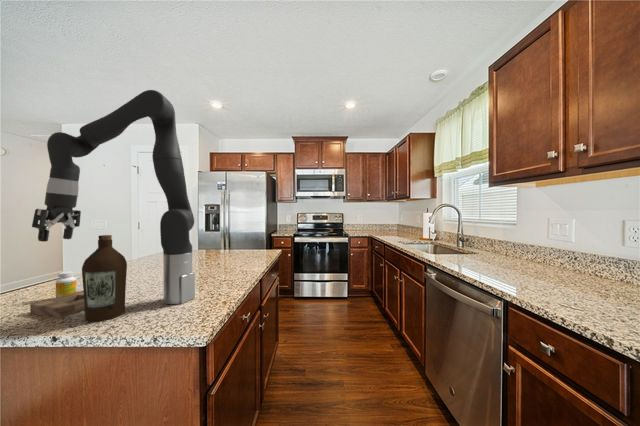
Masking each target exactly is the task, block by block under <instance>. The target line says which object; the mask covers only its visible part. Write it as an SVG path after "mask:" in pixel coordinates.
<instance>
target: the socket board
mask: <svg viewBox="0 0 640 426" xmlns="http://www.w3.org/2000/svg"><path fill="white" fill-rule="evenodd" d="M29 308H30V309H29V310H30V315H35V316H36V315H37V316H43V317H49V318H56V319H63V318H66V317H69V316H73V315H75V314H78V313H79V314H80V313H81V312H85V307H84V291H83V290H80V291H76V293H72V294H68V295H64V296H61V297H57V298H56V297H53V298H50V299H46V300H42V301H38V302H34V303H31V304H30V306H29Z"/></svg>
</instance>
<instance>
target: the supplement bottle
mask: <svg viewBox="0 0 640 426" xmlns="http://www.w3.org/2000/svg"><path fill="white" fill-rule="evenodd" d="M57 274H58V275H57V276H58V277H57V279H56V280H55V298H57V297H61V296H64V295H68V294H72V293H76V292H77V277H75V276H74V271H71V270H69V271H63V272H62V271H61V272H58V273H57Z"/></svg>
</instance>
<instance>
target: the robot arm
mask: <svg viewBox="0 0 640 426" xmlns="http://www.w3.org/2000/svg"><path fill="white" fill-rule="evenodd" d="M145 118H149V119H150V120H151V123H152V126H153V130H154V135H155V136H154V138H155V140H154V144H153V150H152V155H151V156H152V163H153V169H154V174H155V176H156V179H157V182H158V184H159V186H160V187H161V189H162V192H163V194H164V195H165V197H166V203H167V211H165V212H164V213H163V214H162V215H161V218H160V223H159V231H160V232H159V233H160V234H159V235H160V244H161V245H160V246H161V248H162V250H163V251H162V253H163V263H162V264H163V266H162V269H163V270H162V271H163V276H162V277H163V280H162V281H163V283H162V285H163V303H164V304H166V305H176V304H178V305H179V304H184V303H186V302H188V301H192V300H193V299H195V298H196V289H195V288H196V283H195V282H196V281H195V280H196V274H195V272H193V245H192V243H191V241H190V231H191V230H192V229H193V227H194V225H195V217H194V213H193V211H192V208H191V204H190V200H189V196H188V189H187V182H186V175H185V170H184V164H183V163H184V162H183V158H182V154H181V151H180V150H181V149H180V144H179V140H178V135H177V127H176V126H177V125H176V112H175V108H174V105H173V104H172V103H171V101H169V99H167V97H165V96H164V94H162V92H159V91H158V90H154V89H147V90H145V91H142V92H141V93H138V94H137V95H136V96H134V97H133V98H131V99H130V100H129V101H127V102H126V103H124V104H122V105H121V106H119V107H118V108H116V109H115V110H114V111H112V112H110V113H108V114H106V115H105V116H102V117H100V118H97V119H95V120H93V121H91V122H89V123H86V124H85V125H83V126H81V127H80V128H79V133H80V134H79V135H78V136H74V135H72V134H69V133H67V132H61V131H58V132H54V133H52V134H51V135H50V136H49V137H48V139H47V143H46V146H47V147H46V148H47V152H48V153H47V154H48V158H49V162H50V171H49V176H48V177H49V178H48V181H47V184H46V191H45V198H44V205H45V206H46V209H43V208H42V209H41V208H36V209H35V210H34V213H33V219H32V224H31V228H34V229H38V235H37V241H39V242H48V241H49V235H50V229H51V227H53V226H54V225H56V224H58V223H61V224H63V226H64V228H63V236H62V238H63V239H64V240H71V239H72V238H73V233H74V229H75V228H77V227H80V225H81V215H82V211H81V210H78V209H74V208H76V207H77V202H78V195H79V187H80V186H79V180H80V173H81V168H80V166H79V165H77V164H75V163H74V161H73V158H75V159H76V158H77V159H78V158H83V157H85V156H88V155H90V154H91V153H92V152H93V151H94V150H96V149H97V148H99V146H100V145H102V144H105V143H107V142H109V141H111V140H114V139H116V138H117V137H119V136H120V135H122V134H123V133H124V132H125V130H126V129H127V128H129V126H130V125H132V124H133V123H134V122H136V121H138V120H142V119H145Z"/></svg>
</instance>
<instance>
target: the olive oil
mask: <svg viewBox="0 0 640 426" xmlns="http://www.w3.org/2000/svg"><path fill="white" fill-rule="evenodd" d="M112 238H113V235H111V234H104V235H103V234H101V235H98V239H97V248H96V250H95V251H93V252H92V253H91V254H90V255H89V256H88V257H87V258H86V259H84V261H83V264H82V267H81V275H82V291H84V307H85V311H84V320H85V321H87V322H91V323H94V322H102V321H108V320H111V319H114V318H117V317H120V316H122V315H123V314H124V313H125V311H126V290H127V289H126V288H127V274H128V273H127V270H128V262H127V260H126V258H125V256H124V255H123V254H122V253H121V252H119V251H118V250H117V249H115V248H114V247H113V239H112Z"/></svg>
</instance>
